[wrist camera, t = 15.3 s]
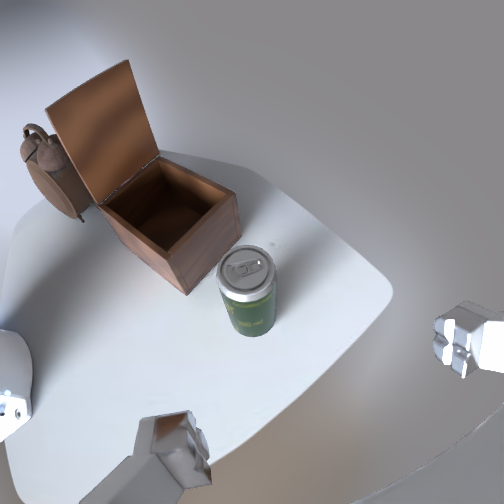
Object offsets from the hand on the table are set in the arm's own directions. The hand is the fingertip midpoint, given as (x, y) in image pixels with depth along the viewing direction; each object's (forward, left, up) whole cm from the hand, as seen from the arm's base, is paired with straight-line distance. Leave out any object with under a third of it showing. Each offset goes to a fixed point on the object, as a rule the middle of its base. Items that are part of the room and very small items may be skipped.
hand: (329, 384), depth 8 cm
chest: (+10, +26, -25) cm, 38 cm away
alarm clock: (+4, +48, -25) cm, 54 cm away
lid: (+10, +33, -8) cm, 36 cm away
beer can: (+7, +10, -25) cm, 28 cm away
